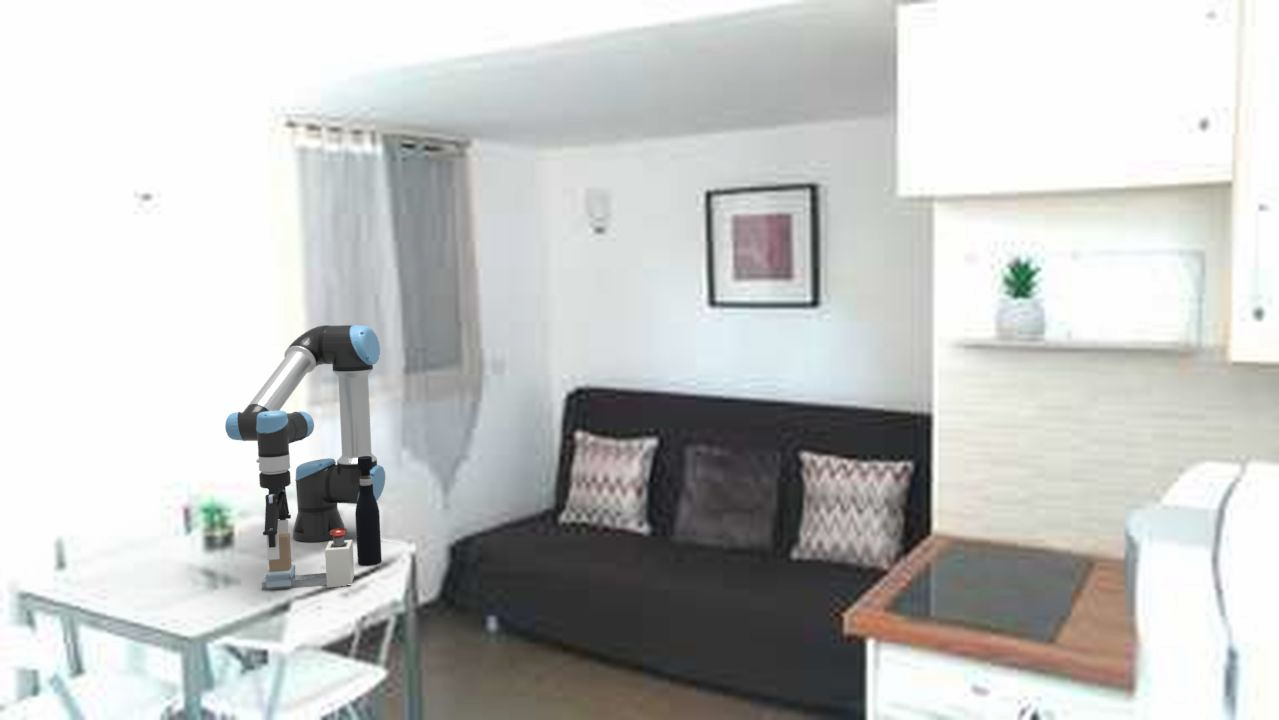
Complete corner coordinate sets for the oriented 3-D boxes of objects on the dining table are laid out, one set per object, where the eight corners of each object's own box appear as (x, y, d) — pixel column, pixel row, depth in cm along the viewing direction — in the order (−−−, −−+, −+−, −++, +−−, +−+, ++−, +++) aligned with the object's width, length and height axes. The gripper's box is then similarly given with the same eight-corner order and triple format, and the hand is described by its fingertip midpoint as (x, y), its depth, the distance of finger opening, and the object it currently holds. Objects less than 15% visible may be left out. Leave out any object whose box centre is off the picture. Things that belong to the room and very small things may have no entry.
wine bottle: (357, 567, 272) (352, 460, 268) (357, 560, 278) (352, 455, 274) (381, 564, 273) (376, 458, 270) (381, 557, 280) (376, 454, 276)
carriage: (271, 578, 260) (269, 532, 259) (295, 577, 261) (292, 531, 260) (266, 587, 253) (263, 540, 252) (290, 585, 254) (288, 538, 253)
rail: (265, 584, 259) (264, 577, 258) (330, 580, 261) (329, 572, 261) (261, 589, 255) (261, 582, 254) (328, 585, 257) (327, 577, 257)
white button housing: (331, 577, 263) (329, 541, 262) (354, 575, 264) (352, 539, 263) (327, 587, 255) (325, 550, 254) (350, 585, 256) (349, 548, 255)
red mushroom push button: (332, 554, 261) (331, 528, 260) (348, 553, 261) (346, 527, 261) (330, 558, 257) (329, 532, 256) (346, 557, 257) (345, 531, 257)
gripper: (268, 462, 265) (272, 539, 268) (248, 482, 241) (253, 566, 243) (297, 460, 267) (301, 537, 269) (280, 480, 242) (285, 564, 244)
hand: (278, 551), depth 256 cm, fingers open, 13 cm apart
